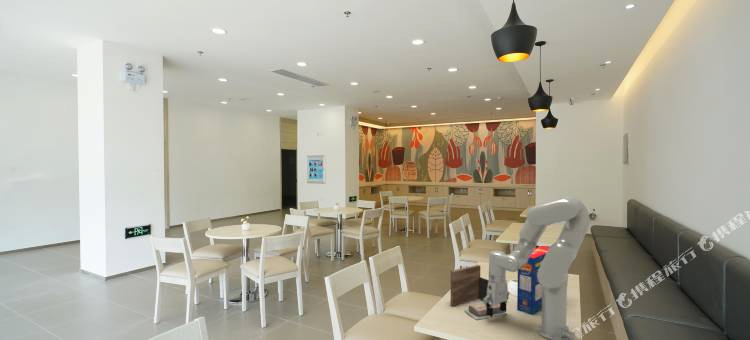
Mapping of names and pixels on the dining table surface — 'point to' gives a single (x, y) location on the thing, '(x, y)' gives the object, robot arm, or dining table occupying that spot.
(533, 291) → the pasta box
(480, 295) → the bookend
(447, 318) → the dining table surface
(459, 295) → the shelf panel
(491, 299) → the robot arm
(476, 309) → the packaged product
